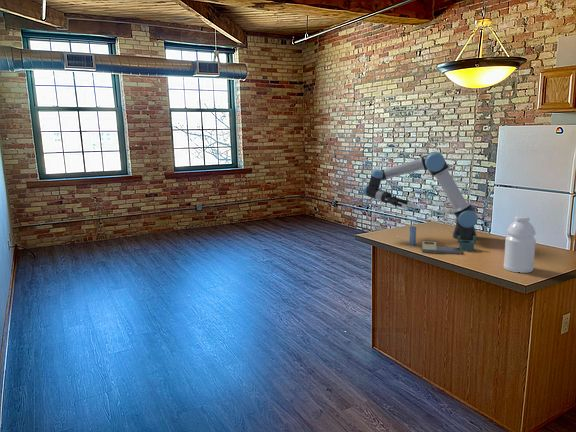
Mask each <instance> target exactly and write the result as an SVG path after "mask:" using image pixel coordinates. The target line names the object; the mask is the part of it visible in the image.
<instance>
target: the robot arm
mask: <svg viewBox="0 0 576 432" xmlns="http://www.w3.org/2000/svg"><path fill="white" fill-rule="evenodd" d="M449 169H450V167H449V164H448V163H447V161H446V159H445V157H444V156H443V154H441V153H440V152H439V151H438V152H437V151H432V152H430V153H427V154H425V155H422V156H420V157H419V158H417V159H415V160H411V161H407V162H404V163H401V164H398V165H397V164H396V165H394V166H391V167H386V168H384V169H377V168H376V169H375V168H374V169H372V171H371V174H370V179H369V183H368V184H365V186H364V187H363V189H362V193H363V195H364V196H365V197H368V198H371V199H373V200H376V201H378V202H382V203H383V204H389V205H392V206H394V207H395V208H396V207H399V208H402V209H404V210H407V208H408V207H410V208H413V209H416V208H417V206H418V204H416V203H414V202H411V201H410V200H409V199H403V198H401V197H400V198H399V197H396V196H392V193H391V192H389V191H387V190H383V189H380V185H381V183H382V182H383V181H386V180H389V179H393V178H397V177H400V176H404V175H407V174H408V175H409V174H411V173H414V172H418V171H422V170H423V171H427V170H428V171H429V173H430V175H431V177H434V178H436V180H437V182H438V183H439V185H440V187H441V189H442V190H443V192H444V194H445V195H446V198H447V200H448V201H449V202H450V204H451V205H452V207H453V211H452V213H453V215H454V216H455V220H456V221H455V227H454V230H453V233H452V237H453V239H456V240H457V239H458V236H460V240H470V241H473V236H476V239H477V231H476V228H475V226H476V224H477V223H478V220H479V216H478V213H476V209H477V208H476V205H475V204H472V203H470V202H467V200H466V199H465V197H464V196H463V193H462V192H461V191H460V190H461V189H459V187H458V185H457V183H456V182H455V180H454V178H453V177H452V174H451V173H450V171H449Z"/></svg>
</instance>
